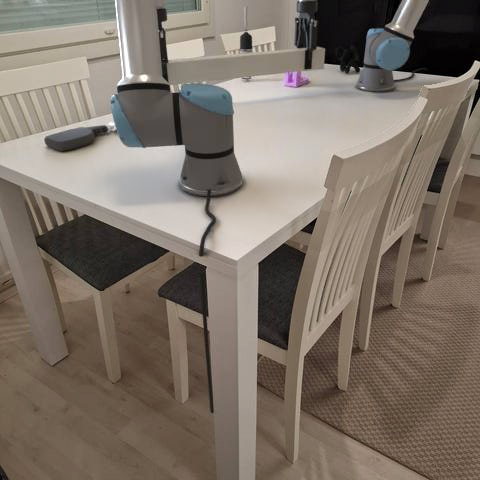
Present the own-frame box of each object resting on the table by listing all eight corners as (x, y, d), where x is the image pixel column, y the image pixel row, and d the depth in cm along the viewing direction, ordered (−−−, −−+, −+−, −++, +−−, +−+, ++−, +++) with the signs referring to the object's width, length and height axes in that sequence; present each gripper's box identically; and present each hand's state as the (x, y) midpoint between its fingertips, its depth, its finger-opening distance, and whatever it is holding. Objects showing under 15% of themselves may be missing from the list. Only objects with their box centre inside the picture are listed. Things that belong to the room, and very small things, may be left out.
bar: (143, 88, 152) (140, 65, 148) (140, 84, 156) (137, 62, 152) (323, 68, 174) (325, 48, 170) (316, 66, 178) (318, 46, 174)
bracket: (296, 87, 192) (296, 70, 189) (285, 85, 195) (285, 68, 192) (310, 81, 201) (311, 65, 197) (300, 79, 204) (300, 63, 200)
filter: (254, 81, 203) (254, 7, 187) (243, 82, 201) (242, 7, 185) (249, 78, 208) (249, 6, 192) (238, 79, 206) (237, 6, 190)
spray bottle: (43, 145, 135) (109, 126, 151) (63, 153, 129) (130, 132, 145) (40, 136, 134) (108, 117, 150) (60, 143, 128) (129, 123, 144)
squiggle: (349, 83, 219) (328, 64, 222) (365, 68, 218) (343, 49, 221) (351, 72, 208) (328, 52, 210) (368, 57, 207) (344, 36, 210)
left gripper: (173, 9, 137) (179, 86, 150) (159, 5, 152) (166, 76, 164) (149, 10, 135) (158, 89, 147) (137, 6, 150) (146, 78, 162)
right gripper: (330, 1, 155) (324, 71, 167) (303, -2, 170) (301, 62, 182) (311, 2, 153) (307, 73, 165) (286, -1, 167) (284, 64, 179)
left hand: (162, 82), depth 156 cm, fingers closed on bar, 5 cm apart
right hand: (304, 67), depth 173 cm, fingers closed on bar, 5 cm apart
